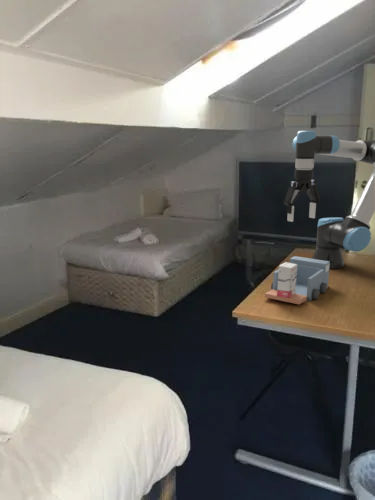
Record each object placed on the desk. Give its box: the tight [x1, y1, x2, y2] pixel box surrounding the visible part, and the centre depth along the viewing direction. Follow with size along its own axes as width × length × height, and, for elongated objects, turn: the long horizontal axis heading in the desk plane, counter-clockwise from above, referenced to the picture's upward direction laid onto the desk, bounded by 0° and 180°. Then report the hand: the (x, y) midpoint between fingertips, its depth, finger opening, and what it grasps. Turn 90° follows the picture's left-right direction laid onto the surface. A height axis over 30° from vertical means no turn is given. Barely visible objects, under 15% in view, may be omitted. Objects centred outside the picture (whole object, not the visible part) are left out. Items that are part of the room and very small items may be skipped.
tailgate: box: [264, 289, 307, 305], centre depth 180 cm, size 2×14×8 cm
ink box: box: [277, 261, 297, 298], centre depth 179 cm, size 9×5×12 cm, turn 150°
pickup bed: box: [270, 255, 330, 302], centre depth 192 cm, size 21×19×11 cm
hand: (301, 219), depth 201 cm, fingers open, 13 cm apart
